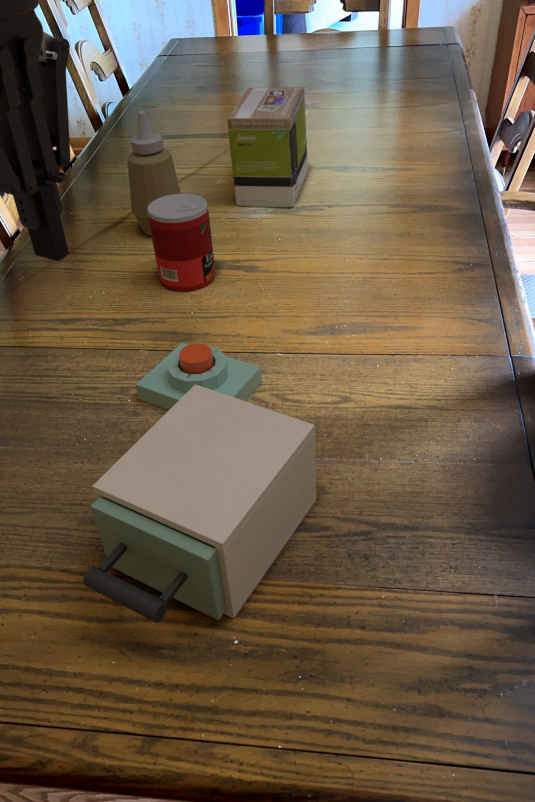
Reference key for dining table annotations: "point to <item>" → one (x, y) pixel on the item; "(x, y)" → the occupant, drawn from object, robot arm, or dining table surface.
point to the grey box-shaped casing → (222, 481)
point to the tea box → (268, 146)
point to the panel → (198, 379)
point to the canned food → (182, 241)
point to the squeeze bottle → (149, 171)
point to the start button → (196, 359)
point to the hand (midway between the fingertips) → (52, 254)
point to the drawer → (154, 564)
